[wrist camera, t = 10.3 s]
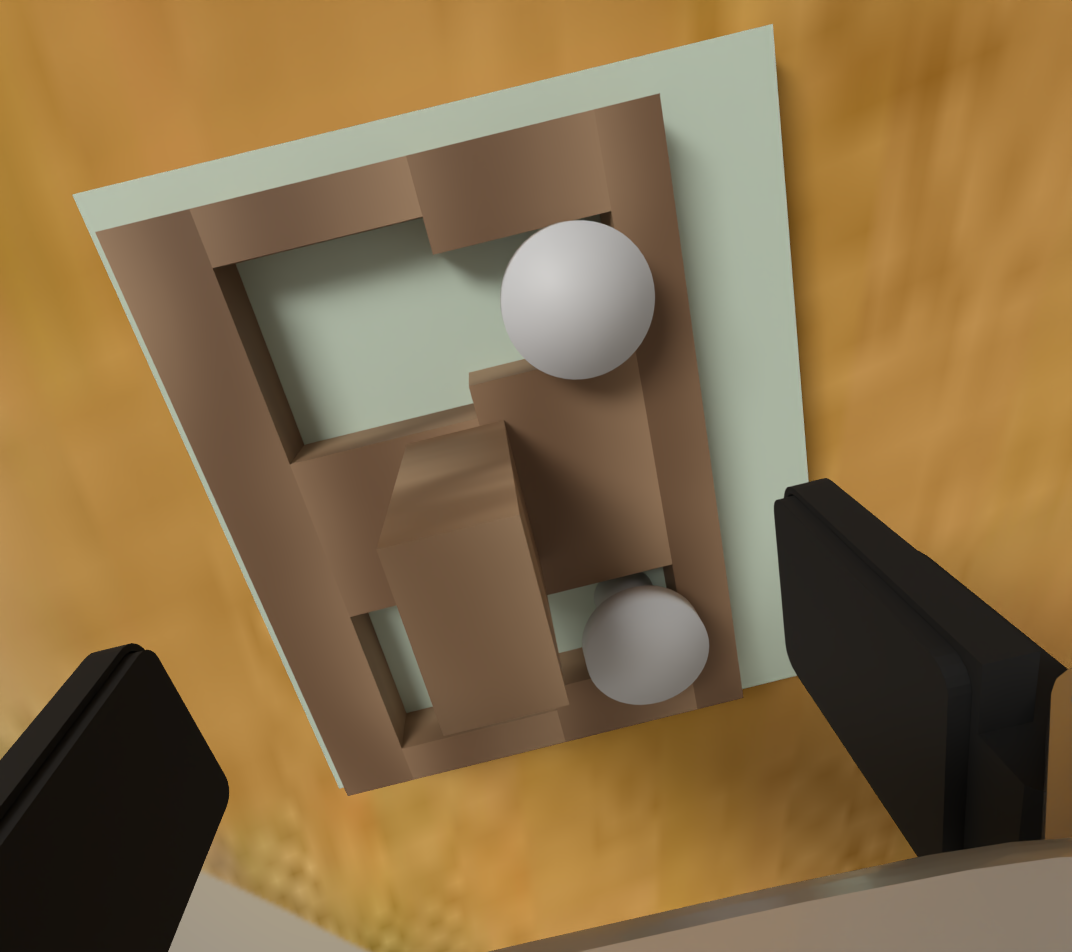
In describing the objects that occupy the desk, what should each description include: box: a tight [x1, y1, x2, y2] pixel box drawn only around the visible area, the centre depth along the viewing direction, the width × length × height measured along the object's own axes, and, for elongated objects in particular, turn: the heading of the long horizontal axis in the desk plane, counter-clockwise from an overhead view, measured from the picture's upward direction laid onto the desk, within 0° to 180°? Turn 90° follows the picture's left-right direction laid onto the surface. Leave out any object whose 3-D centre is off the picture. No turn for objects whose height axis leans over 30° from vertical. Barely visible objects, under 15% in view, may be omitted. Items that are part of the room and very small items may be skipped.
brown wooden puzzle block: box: [95, 93, 743, 796], centre depth 15 cm, size 12×16×7 cm
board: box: [73, 24, 808, 788], centre depth 17 cm, size 16×18×4 cm
